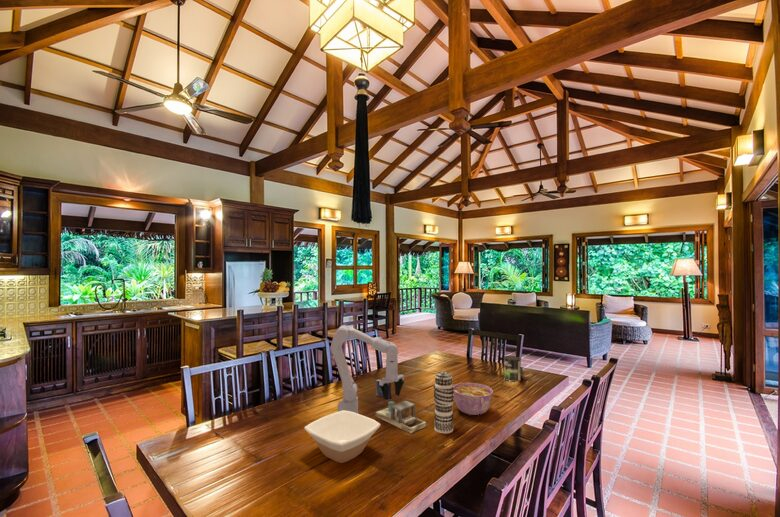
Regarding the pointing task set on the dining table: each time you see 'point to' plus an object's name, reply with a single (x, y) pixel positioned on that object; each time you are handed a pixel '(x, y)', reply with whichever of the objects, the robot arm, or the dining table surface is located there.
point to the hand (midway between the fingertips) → (391, 397)
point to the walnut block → (404, 413)
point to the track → (409, 426)
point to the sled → (396, 413)
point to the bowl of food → (472, 398)
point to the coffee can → (512, 368)
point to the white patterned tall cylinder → (443, 402)
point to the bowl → (342, 434)
